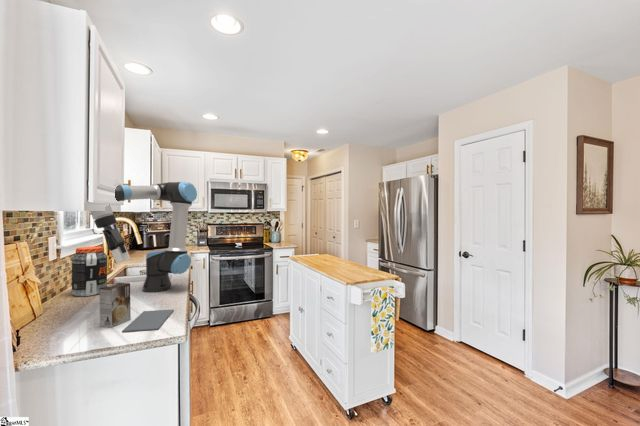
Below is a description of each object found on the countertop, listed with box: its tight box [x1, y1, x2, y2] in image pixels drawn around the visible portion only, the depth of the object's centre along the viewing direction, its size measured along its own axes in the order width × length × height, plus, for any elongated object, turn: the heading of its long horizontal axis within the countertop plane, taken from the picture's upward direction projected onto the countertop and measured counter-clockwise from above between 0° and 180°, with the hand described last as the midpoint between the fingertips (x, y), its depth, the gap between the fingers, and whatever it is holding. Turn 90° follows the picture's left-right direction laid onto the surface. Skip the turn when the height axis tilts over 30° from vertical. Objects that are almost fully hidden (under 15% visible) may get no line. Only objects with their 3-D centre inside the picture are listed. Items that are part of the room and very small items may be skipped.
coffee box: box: [99, 282, 132, 328], centre depth 122 cm, size 9×6×16 cm
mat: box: [121, 308, 175, 333], centre depth 125 cm, size 22×13×1 cm, turn 12°
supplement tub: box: [71, 245, 108, 297], centre depth 163 cm, size 16×16×26 cm
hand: (123, 261), depth 129 cm, fingers open, 13 cm apart
